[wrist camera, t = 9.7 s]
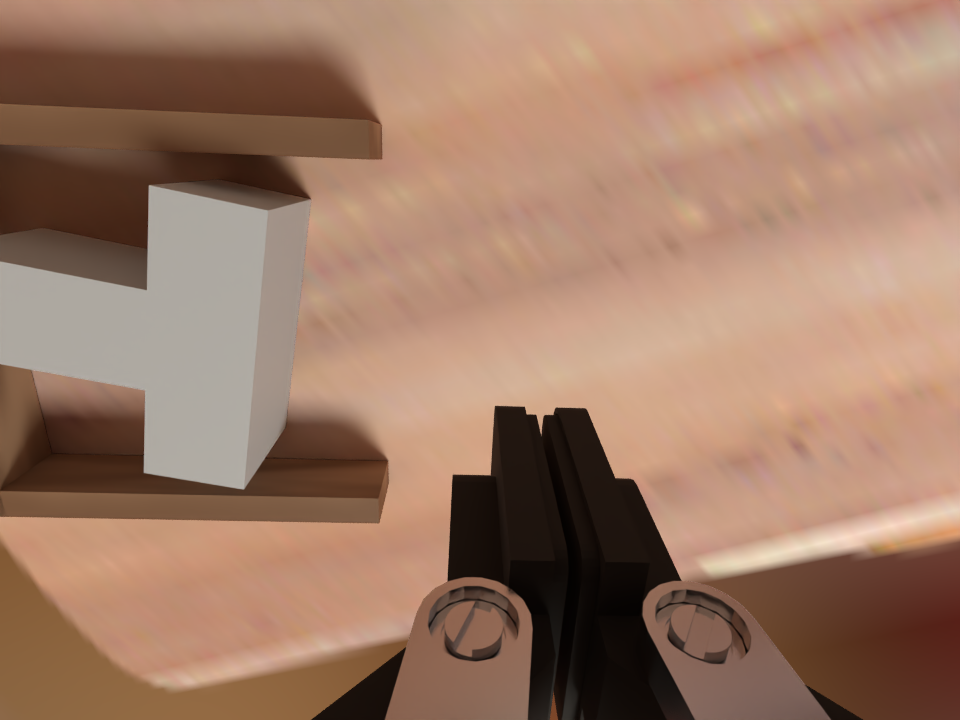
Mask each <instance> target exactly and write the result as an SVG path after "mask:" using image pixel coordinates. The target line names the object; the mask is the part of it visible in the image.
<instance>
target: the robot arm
mask: <svg viewBox="0 0 960 720" xmlns="http://www.w3.org/2000/svg"><path fill="white" fill-rule="evenodd" d="M553 690H554V696H555V703H556V710H557V716H558V720H863V719H861V718H859V717H857V716H856V715H854V714H853V713H851V712H849V711H847V710H846V709H844V708H843V707H841V706H840V705H838V704H836V703H835V702H833V701H831V700H830V699H828V698H826V697H824V696H823V695H821V694H820V693H818V692H816V691H815V690H813V689H811V688H810V687H808V686H806V685H805V684H804V683H803V682H802V681H801V679H800V678H799V677H798V675H797V674H796V673H795V671H794V670H793V669H792V667H791V666H790V665H789V663H788V662H787V661H786V660H785V658H784V657H783V656H782V654H781V653H780V652H779V650H778V649H777V648H776V646H775V645H774V644H773V642H772V641H771V640H770V638H769V637H768V636H767V635H766V633H765V632H764V630H763V629H762V628H761V627H760V625H759V624H758V623H757V621H756V620H755V619H754V617H753V616H752V615H751V614H750V613H749V612H748V611H747V610H746V609H745V608H744V607H743V606H742V605H741V604H740V603H738V602H737V601H735V600H734V599H733V598H731V597H730V596H728V595H727V594H725V593H723V592H721V591H719V590H717V589H714V588H712V587H710V586H707V585H704V584H699V583H695V582H691V581H681V579H680V577H679V574H678V572H677V570H676V568H675V566H674V564H673V562H672V559H671V557H670V555H669V553H668V551H667V549H666V546H665V544H664V542H663V540H662V538H661V536H660V534H659V531H658V529H657V527H656V525H655V523H654V521H653V519H652V516H651V514H650V512H649V510H648V508H647V506H646V504H645V501H644V499H643V497H642V495H641V493H640V491H639V489H638V486H637V485H636V483H635V482H634V480H632V479H619V478H615V477H614V474H613V472H612V469H611V467H610V464H609V462H608V460H607V457H606V455H605V452H604V450H603V447H602V445H601V443H600V440H599V438H598V435H597V433H596V431H595V428H594V426H593V423H592V421H591V418H590V416H589V414H588V411H587V410H586V409H585V408H555V411H554V415H544V418H543V425H542V436H541V433H540V429H539V425H538V420H537V416H536V415H526V410H525V407H513V406H495V412H494V427H493V445H492V463H491V476H490V475H453V479H452V500H451V521H450V542H449V563H448V582H446V583H444V584H442V585H440V586H438V587H436V588H435V589H434V590H432V591H431V592H430V593H429V594H428V595H427V596H426V597H425V598H424V599H423V601H422V603H421V605H420V607H419V609H418V611H417V613H416V617H415V620H414V623H413V627H412V630H411V633H410V637H409V640H408V644H407V647H406V648H404V649H403V650H402V651H400V652H399V653H398V654H397V655H395V656H394V657H393V658H391V659H390V660H389V661H387V662H386V663H385V664H383V665H382V666H381V667H380V668H378V669H377V670H376V671H374V672H373V673H372V674H370V675H369V676H368V677H367V678H365V679H364V680H363V681H361V682H360V683H359V684H357V685H356V686H355V687H353V688H352V689H351V690H349V691H348V692H347V693H346V694H344V695H343V696H342V697H340V698H339V699H338V700H336V701H335V702H334V703H333V704H331V705H330V706H329V707H327V708H326V709H325V710H323V711H322V712H321V713H320V714H318V715H317V716H316V717H314V718H313V719H312V720H550V713H551V706H552V698H553Z"/></svg>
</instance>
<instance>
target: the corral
mask: <svg viewBox="0 0 960 720" xmlns="http://www.w3.org/2000/svg"><path fill="white" fill-rule="evenodd" d="M0 144H3V145H28V146H53V147H77V148H102V149H126V150H151V151H175V152H200V153H225V154H249V155H274V156H298V157H323V158H347V159H382V125H381V124H378V123H375V122H373V121H370V120H364V119H341V118H318V117H295V116H272V115H248V114H225V113H202V112H179V111H156V110H133V109H110V108H86V107H63V106H40V105H17V104H0ZM388 484H389V478H388V461H366V460H321V459H275V458H265V459H264V460H263V462H262V463H261V465H260V466H259V468H258V469H257V471H256V472H255V474H254V475H253V477H252V478H251V480H250V481H249V483H248V484H247V486H246V487H245V489H244V490H243V489H237V488H231V487H225V486H219V485H213V484H207V483H201V482H195V481H189V480H183V479H177V478H171V477H165V476H159V475H153V474H147V473H144V456H138V455H92V454H52V452H51V448H50V444H49V440H48V436H47V432H46V428H45V424H44V420H43V416H42V412H41V408H40V404H39V400H38V396H37V393H36V389H35V385H34V381H33V377H32V373H31V370H30V369H24V368H19V367H13V366H8V365H2V364H0V517H53V518H109V519H165V520H220V521H276V522H331V523H379V522H380V518H381V514H382V509H383V505H384V501H385V497H386V493H387V488H388Z"/></svg>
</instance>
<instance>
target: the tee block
mask: <svg viewBox="0 0 960 720" xmlns="http://www.w3.org/2000/svg"><path fill="white" fill-rule="evenodd" d="M310 206H311V199H308V198H303V197H298V196H294V195H289V194H285V193H280V192H275V191H271V190H266V189H262V188H257V187H252V186H248V185H243V184H239V183H234V182H230V181H225V180H220V179H215V180H203V181H192V182H180V183H168V184H156V185H149V203H148V249H145V248H140V247H135V246H130V245H125V244H120V243H116V242H111V241H106V240H101V239H96V238H91V237H86V236H81V235H76V234H71V233H66V232H62V231H57V230H52V229H47V228H40V229H34V230H27V231H21V232H15V233H9V234H3V235H0V364H2V365H8V366H13V367H19V368H24V369H30V370H35V371H41V372H46V373H52V374H57V375H63V376H69V377H74V378H80V379H85V380H91V381H96V382H102V383H107V384H113V385H118V386H124V387H129V388H135V389H141V390H145V432H144V473H147V474H153V475H159V476H165V477H171V478H177V479H183V480H189V481H195V482H201V483H207V484H213V485H219V486H225V487H231V488H237V489H243V490H244V489H245V487H246V486H247V484H248V483H249V481H250V480H251V478H252V477H253V475H254V474H255V472H256V471H257V469H258V468H259V466H260V465H261V463H262V462H263V460H264V459H265V457H266V456H267V454H268V453H269V451H270V450H271V448H272V447H273V445H274V444H275V442H276V441H277V439H278V438H279V436H280V435H281V433H282V432H283V431H284V429H285V428H286V421H287V412H288V403H289V394H290V385H291V376H292V367H293V358H294V349H295V340H296V331H297V322H298V313H299V304H300V295H301V286H302V277H303V268H304V259H305V250H306V241H307V233H308V224H309V215H310Z"/></svg>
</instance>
